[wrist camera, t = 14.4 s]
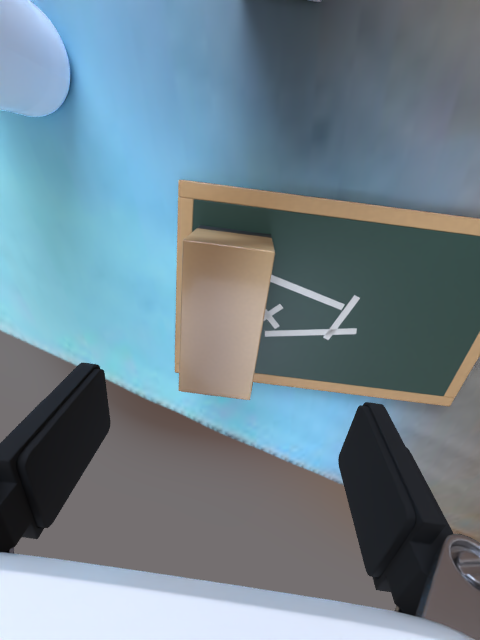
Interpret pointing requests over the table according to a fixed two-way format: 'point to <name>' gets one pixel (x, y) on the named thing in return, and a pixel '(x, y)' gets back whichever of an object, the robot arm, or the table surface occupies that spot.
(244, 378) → the eraser
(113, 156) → the table surface
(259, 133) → the table surface
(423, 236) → the slate
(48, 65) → the drinking glass
